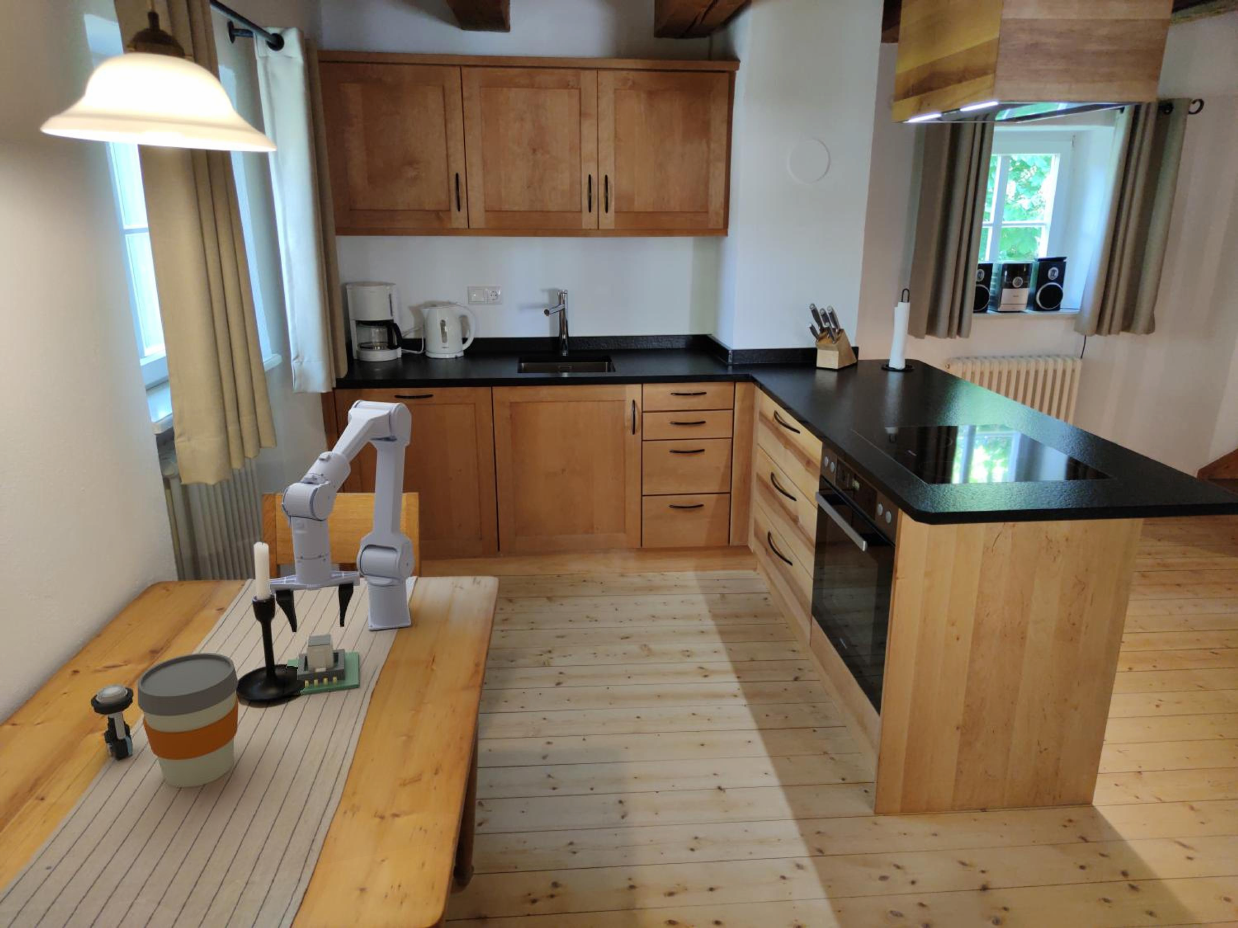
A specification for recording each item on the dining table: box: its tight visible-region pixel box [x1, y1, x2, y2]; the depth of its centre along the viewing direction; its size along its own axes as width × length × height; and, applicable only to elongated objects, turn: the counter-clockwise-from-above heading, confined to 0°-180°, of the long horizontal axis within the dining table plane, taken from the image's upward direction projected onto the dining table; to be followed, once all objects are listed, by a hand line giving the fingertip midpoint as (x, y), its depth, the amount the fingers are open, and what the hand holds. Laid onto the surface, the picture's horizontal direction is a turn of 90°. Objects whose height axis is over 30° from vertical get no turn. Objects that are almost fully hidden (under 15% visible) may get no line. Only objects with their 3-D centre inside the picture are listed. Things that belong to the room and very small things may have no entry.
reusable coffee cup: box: [137, 652, 239, 788], centre depth 118 cm, size 13×13×15 cm
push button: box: [90, 683, 135, 761], centre depth 123 cm, size 7×5×10 cm
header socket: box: [286, 648, 360, 696], centre depth 146 cm, size 12×12×3 cm
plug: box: [305, 633, 334, 671], centre depth 145 cm, size 4×4×6 cm
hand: (318, 627), depth 144 cm, fingers open, 7 cm apart
